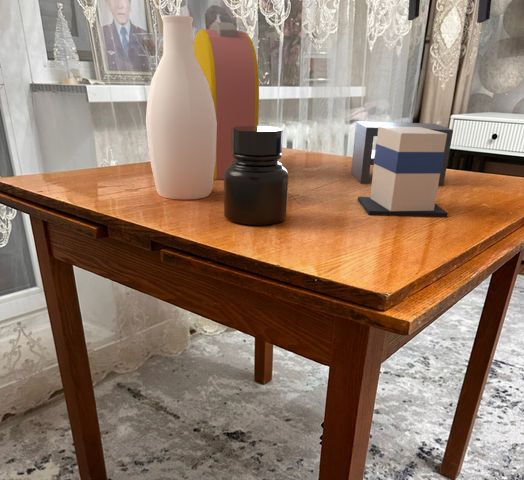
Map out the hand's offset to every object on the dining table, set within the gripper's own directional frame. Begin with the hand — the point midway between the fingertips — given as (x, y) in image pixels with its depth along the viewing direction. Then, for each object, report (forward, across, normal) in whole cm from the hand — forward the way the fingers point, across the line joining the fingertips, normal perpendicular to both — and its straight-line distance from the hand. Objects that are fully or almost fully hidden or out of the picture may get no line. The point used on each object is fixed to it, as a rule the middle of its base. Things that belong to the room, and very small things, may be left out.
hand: (448, 20), depth 97 cm
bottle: (+29, +49, +6) cm, 57 cm away
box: (+30, +16, +19) cm, 39 cm away
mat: (+31, +16, +19) cm, 40 cm away
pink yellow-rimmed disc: (+25, +39, -17) cm, 50 cm away
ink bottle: (+32, +40, +23) cm, 56 cm away
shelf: (+27, +6, -5) cm, 28 cm away
